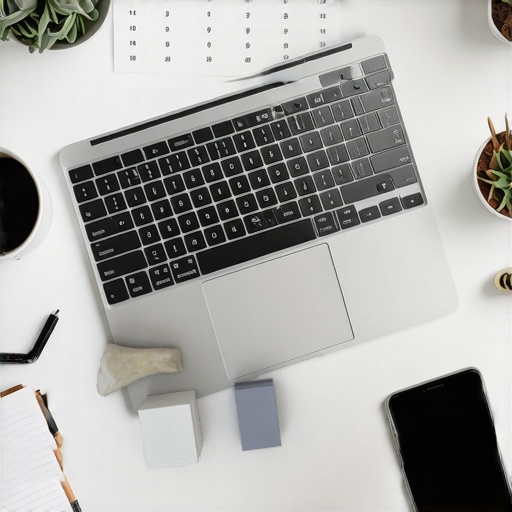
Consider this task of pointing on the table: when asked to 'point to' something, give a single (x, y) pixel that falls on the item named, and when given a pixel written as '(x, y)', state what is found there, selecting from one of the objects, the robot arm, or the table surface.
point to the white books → (177, 397)
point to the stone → (133, 365)
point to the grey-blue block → (257, 414)
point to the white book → (168, 434)
